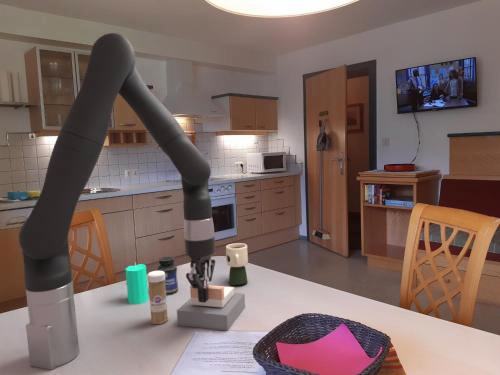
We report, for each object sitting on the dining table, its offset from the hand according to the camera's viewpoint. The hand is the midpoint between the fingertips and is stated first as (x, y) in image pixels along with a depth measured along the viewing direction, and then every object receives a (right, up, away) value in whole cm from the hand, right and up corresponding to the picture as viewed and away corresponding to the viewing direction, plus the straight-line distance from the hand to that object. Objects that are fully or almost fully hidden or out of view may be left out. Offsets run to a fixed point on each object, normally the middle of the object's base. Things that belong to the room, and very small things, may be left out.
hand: (203, 301), depth 98 cm
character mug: (+8, -3, +29) cm, 31 cm away
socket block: (+2, -6, +6) cm, 9 cm away
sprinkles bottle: (-12, -7, +5) cm, 15 cm away
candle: (-22, -6, +19) cm, 30 cm away
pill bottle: (-14, -5, +25) cm, 29 cm away
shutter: (+2, -1, +7) cm, 7 cm away
